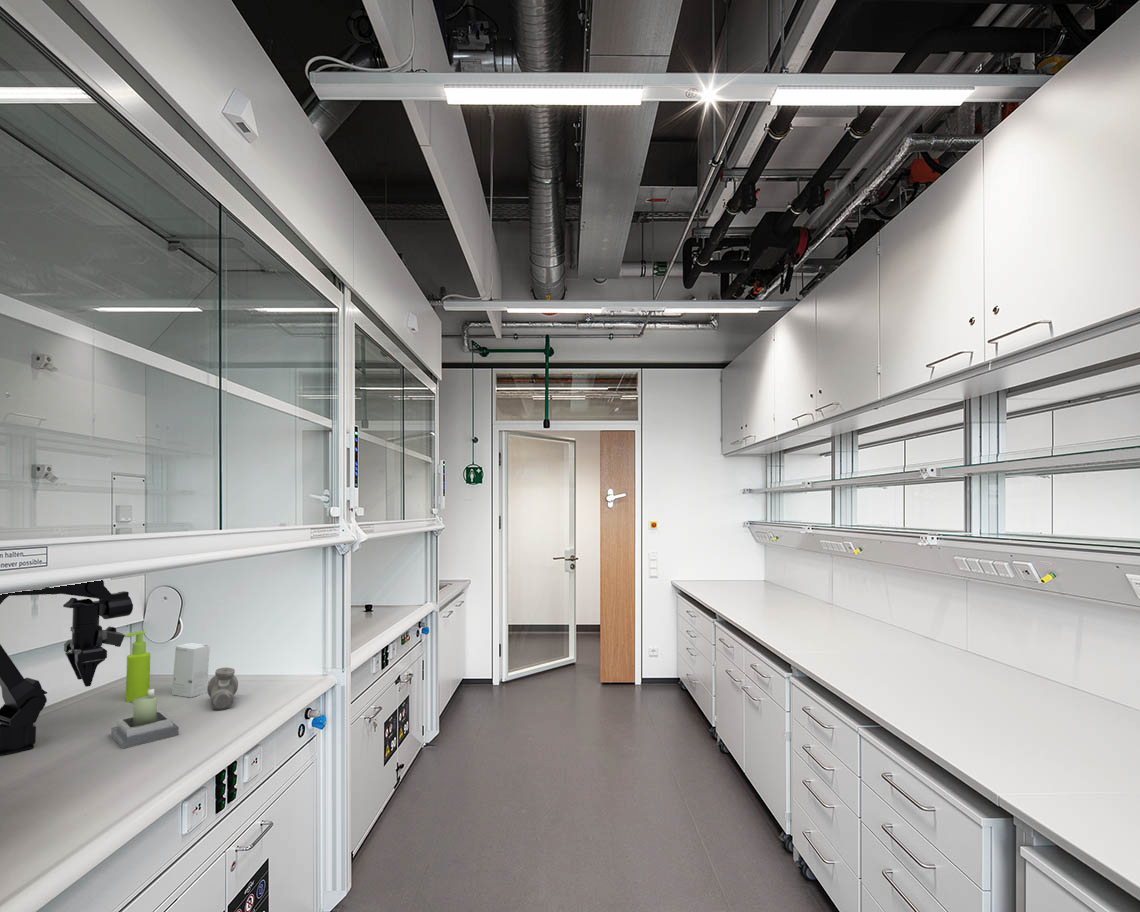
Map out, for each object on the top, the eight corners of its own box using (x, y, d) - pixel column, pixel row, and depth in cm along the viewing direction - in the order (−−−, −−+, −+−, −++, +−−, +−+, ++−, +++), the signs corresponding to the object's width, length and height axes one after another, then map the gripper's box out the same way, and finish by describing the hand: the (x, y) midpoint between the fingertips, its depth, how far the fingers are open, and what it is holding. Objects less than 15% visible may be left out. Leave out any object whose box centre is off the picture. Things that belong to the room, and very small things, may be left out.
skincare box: (171, 695, 199) (172, 646, 200) (189, 689, 205) (190, 641, 206) (192, 698, 196) (193, 648, 197) (209, 692, 202) (210, 643, 203)
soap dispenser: (117, 701, 194) (119, 633, 195) (142, 694, 200) (143, 628, 201) (129, 704, 191) (130, 635, 192) (153, 697, 197) (155, 630, 198)
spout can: (135, 731, 163) (136, 695, 164) (130, 726, 167) (131, 690, 167) (158, 726, 167) (159, 690, 167) (153, 721, 170) (154, 686, 171)
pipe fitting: (206, 698, 194) (210, 664, 194) (236, 697, 198) (240, 663, 198) (203, 716, 183) (207, 680, 183) (235, 714, 187) (239, 678, 187)
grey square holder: (122, 748, 158) (123, 731, 159) (110, 735, 167) (111, 719, 167) (178, 734, 167) (178, 719, 167) (164, 723, 175) (164, 708, 175)
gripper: (131, 622, 172) (129, 683, 171) (113, 613, 185) (112, 669, 184) (78, 629, 164) (76, 692, 163) (64, 619, 177) (62, 678, 176)
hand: (84, 682), depth 172 cm, fingers open, 9 cm apart
